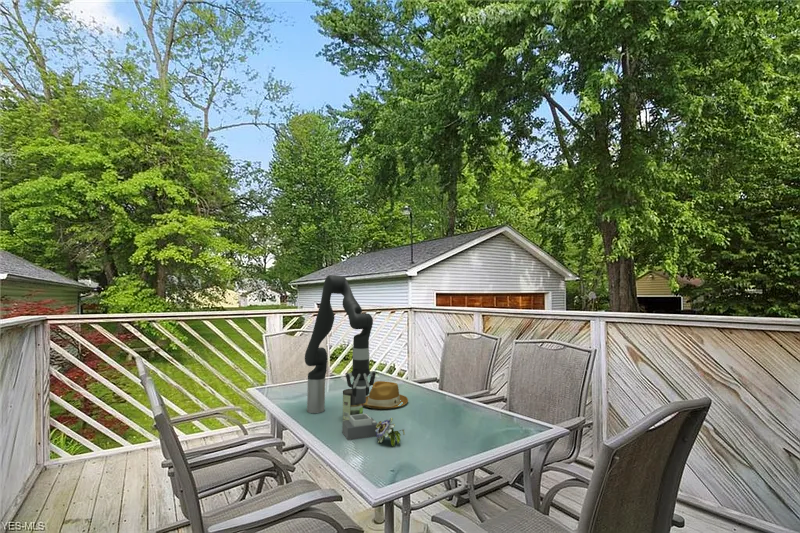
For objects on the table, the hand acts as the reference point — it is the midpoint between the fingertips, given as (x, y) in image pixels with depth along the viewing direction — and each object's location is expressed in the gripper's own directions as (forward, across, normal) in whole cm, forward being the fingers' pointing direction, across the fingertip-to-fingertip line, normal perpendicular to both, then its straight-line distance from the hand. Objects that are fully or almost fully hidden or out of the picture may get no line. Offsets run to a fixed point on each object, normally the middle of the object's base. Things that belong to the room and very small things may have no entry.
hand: (360, 395), depth 179 cm
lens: (+3, 0, 0) cm, 3 cm away
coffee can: (+17, -2, -21) cm, 27 cm away
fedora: (+18, -26, -42) cm, 53 cm away
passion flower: (+17, -9, +13) cm, 23 cm away
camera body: (+17, 0, 0) cm, 17 cm away
